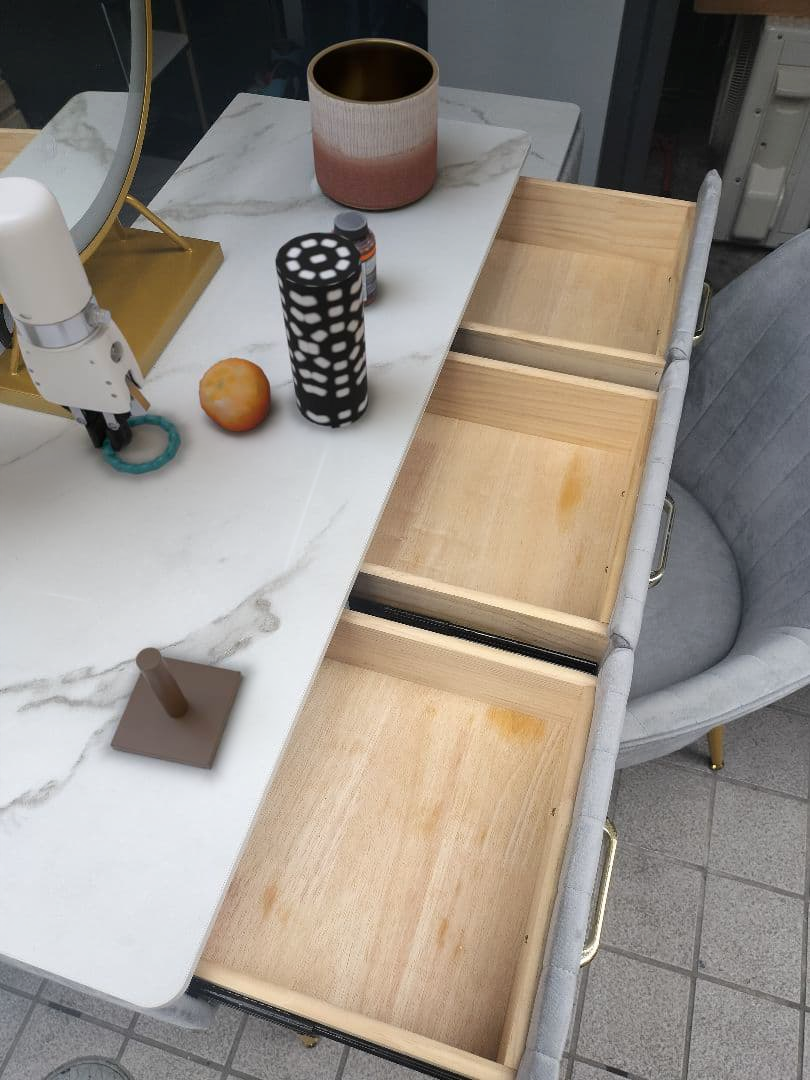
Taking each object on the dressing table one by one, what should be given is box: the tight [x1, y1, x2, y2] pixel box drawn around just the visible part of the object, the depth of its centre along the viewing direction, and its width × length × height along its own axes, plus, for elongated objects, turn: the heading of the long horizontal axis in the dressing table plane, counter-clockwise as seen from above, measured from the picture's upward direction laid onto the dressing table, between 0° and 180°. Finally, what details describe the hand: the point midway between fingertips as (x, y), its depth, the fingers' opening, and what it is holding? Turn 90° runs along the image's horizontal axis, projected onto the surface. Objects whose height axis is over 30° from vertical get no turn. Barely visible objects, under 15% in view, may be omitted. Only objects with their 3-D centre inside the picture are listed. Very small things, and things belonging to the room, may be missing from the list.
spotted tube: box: [274, 231, 369, 429], centre depth 87 cm, size 8×8×20 cm
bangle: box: [102, 413, 181, 475], centre depth 91 cm, size 8×8×1 cm
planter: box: [306, 37, 440, 211], centre depth 114 cm, size 18×18×16 cm
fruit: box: [198, 357, 271, 432], centre depth 92 cm, size 8×8×8 cm
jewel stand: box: [110, 647, 243, 770], centre depth 69 cm, size 9×9×11 cm
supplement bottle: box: [329, 209, 378, 308], centre depth 102 cm, size 6×6×11 cm
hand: (114, 441), depth 92 cm, fingers closed on bangle, 1 cm apart
